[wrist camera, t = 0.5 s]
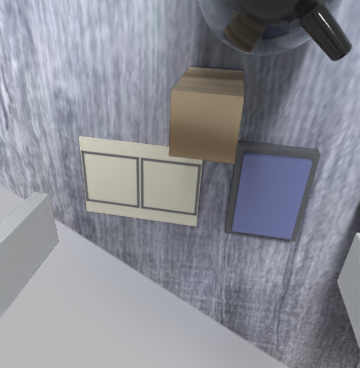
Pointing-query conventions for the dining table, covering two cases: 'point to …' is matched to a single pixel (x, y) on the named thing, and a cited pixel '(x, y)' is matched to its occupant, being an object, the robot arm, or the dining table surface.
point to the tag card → (140, 181)
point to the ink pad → (270, 189)
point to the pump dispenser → (276, 25)
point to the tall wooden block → (206, 114)
